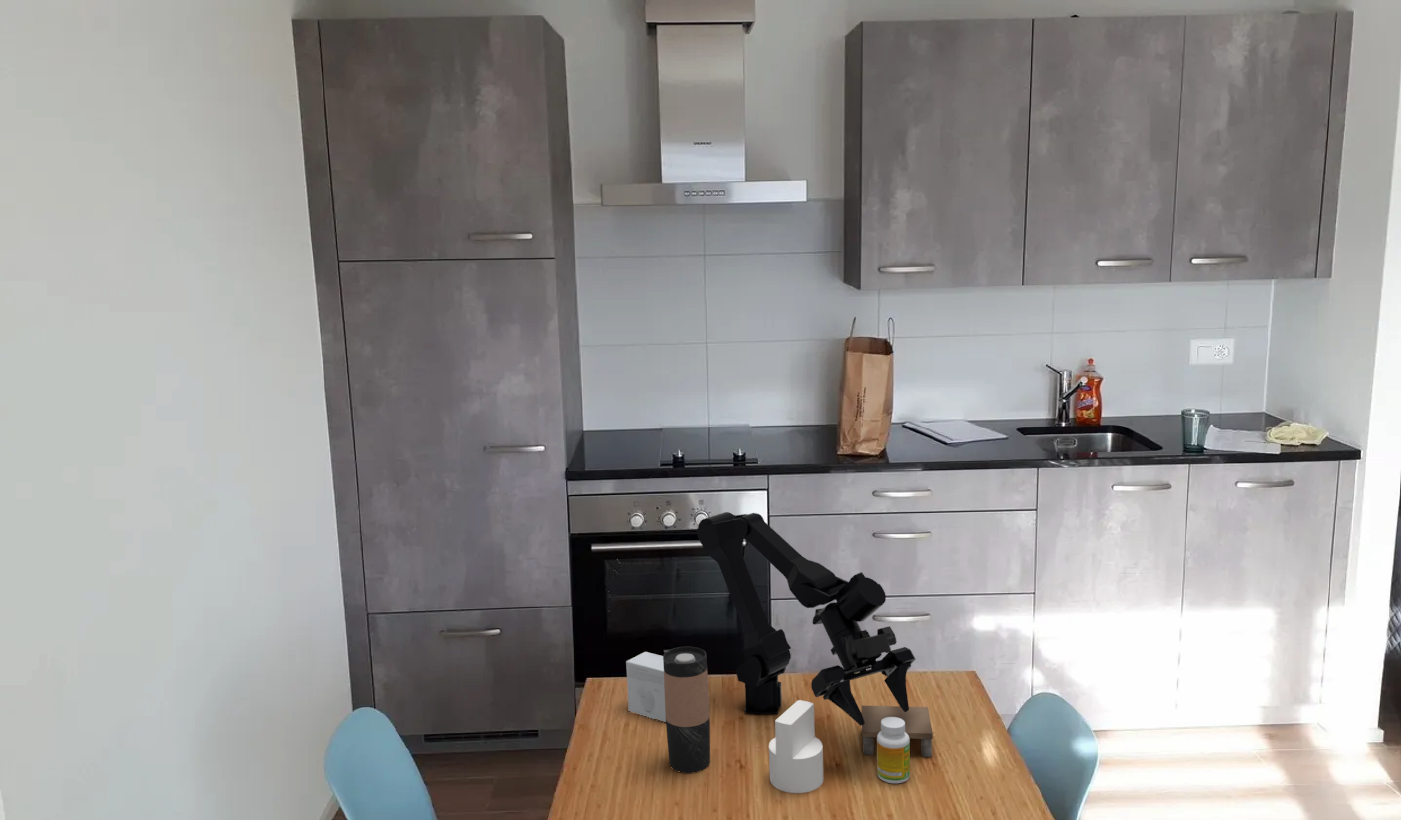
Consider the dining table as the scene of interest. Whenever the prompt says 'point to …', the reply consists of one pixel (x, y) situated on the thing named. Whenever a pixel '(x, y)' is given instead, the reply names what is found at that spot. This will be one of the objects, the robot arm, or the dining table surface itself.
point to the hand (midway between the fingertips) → (885, 717)
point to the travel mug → (687, 708)
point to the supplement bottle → (893, 751)
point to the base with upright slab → (796, 751)
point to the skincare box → (646, 685)
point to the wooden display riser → (913, 718)
